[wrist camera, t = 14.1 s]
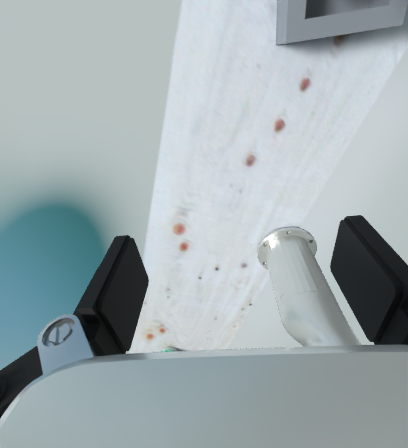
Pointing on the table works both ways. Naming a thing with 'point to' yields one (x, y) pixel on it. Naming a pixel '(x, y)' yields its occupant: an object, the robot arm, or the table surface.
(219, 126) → the table surface
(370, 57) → the table surface
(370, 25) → the socket block
